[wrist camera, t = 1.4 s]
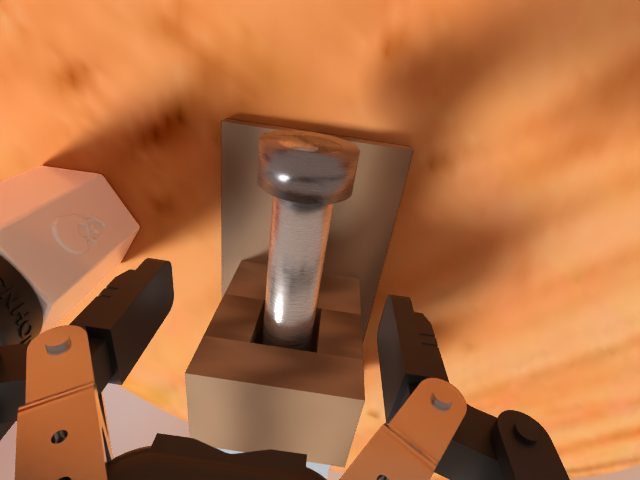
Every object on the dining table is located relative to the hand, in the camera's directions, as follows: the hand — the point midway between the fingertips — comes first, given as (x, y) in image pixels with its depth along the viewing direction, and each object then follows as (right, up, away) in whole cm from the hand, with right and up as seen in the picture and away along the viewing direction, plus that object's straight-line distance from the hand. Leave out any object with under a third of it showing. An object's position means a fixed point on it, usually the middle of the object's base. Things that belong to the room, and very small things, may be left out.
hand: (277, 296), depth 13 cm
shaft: (0, -3, +11) cm, 11 cm away
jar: (-17, +4, +14) cm, 22 cm away
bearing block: (0, -2, +16) cm, 16 cm away
